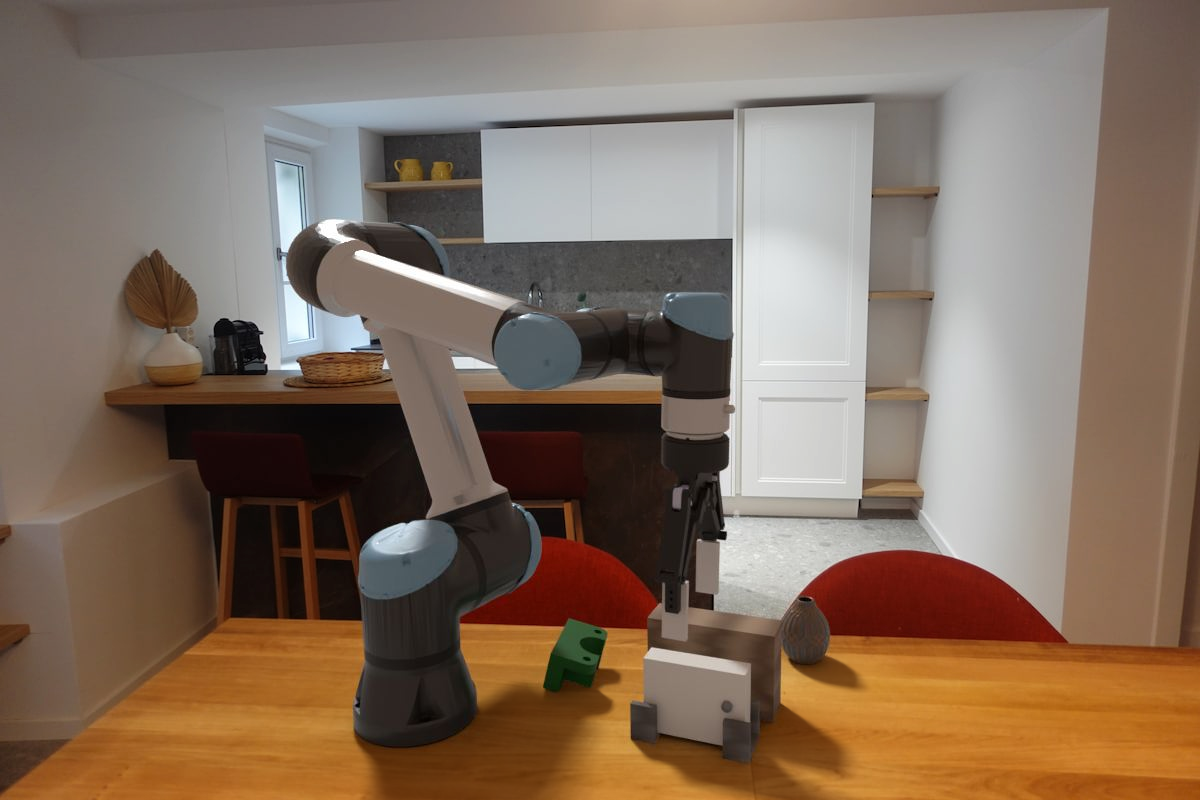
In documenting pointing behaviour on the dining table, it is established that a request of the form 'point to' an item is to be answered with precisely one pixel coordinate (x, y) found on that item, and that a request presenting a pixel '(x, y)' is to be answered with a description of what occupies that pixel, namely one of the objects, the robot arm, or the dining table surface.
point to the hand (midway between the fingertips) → (691, 613)
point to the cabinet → (732, 642)
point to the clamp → (575, 655)
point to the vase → (805, 632)
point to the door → (696, 693)
